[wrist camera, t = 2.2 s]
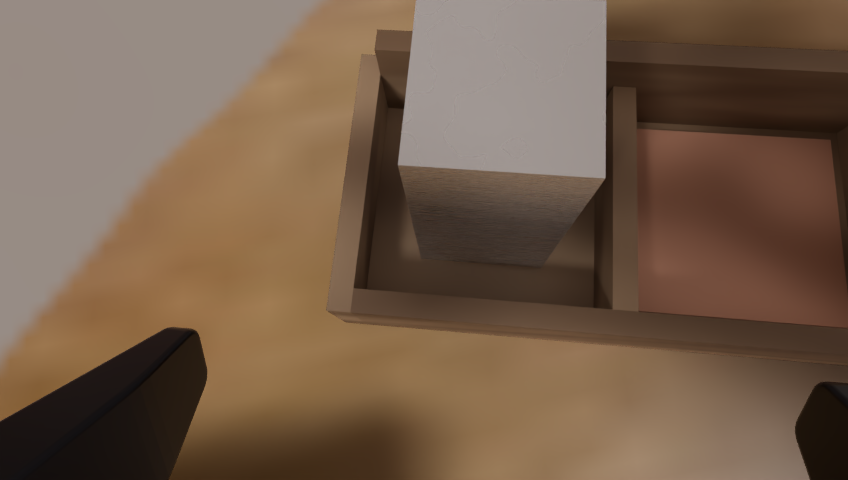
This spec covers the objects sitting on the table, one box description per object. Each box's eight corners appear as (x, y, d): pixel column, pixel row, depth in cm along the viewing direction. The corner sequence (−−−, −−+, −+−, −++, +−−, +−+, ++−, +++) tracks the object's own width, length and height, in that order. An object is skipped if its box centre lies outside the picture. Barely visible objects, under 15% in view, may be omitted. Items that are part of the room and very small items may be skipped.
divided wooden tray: (870, 367, 20) (1017, 360, 14) (345, 322, 21) (311, 300, 16) (842, 125, 22) (959, 45, 17) (373, 99, 23) (352, 19, 18)
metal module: (541, 268, 20) (605, 178, 12) (421, 258, 21) (397, 164, 12) (544, 156, 22) (606, 0, 13) (431, 149, 22) (416, -7, 13)
